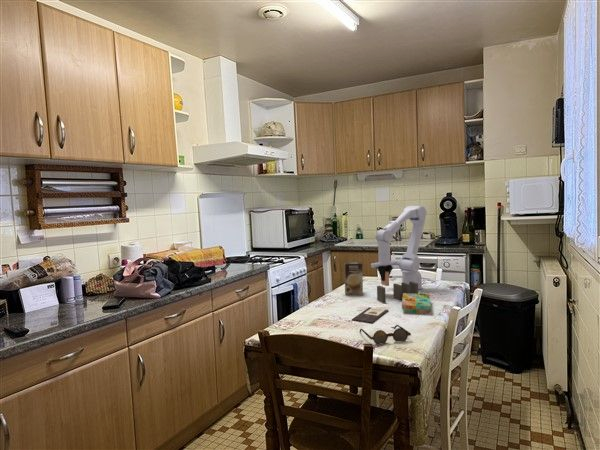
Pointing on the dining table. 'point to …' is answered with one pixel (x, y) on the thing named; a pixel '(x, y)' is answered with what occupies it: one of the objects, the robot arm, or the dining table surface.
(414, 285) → the domino
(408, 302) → the puzzle game
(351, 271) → the coffee box
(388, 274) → the domino
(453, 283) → the dining table surface
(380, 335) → the eyeglasses
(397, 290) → the domino
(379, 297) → the domino
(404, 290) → the domino
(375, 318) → the chocolate bar
